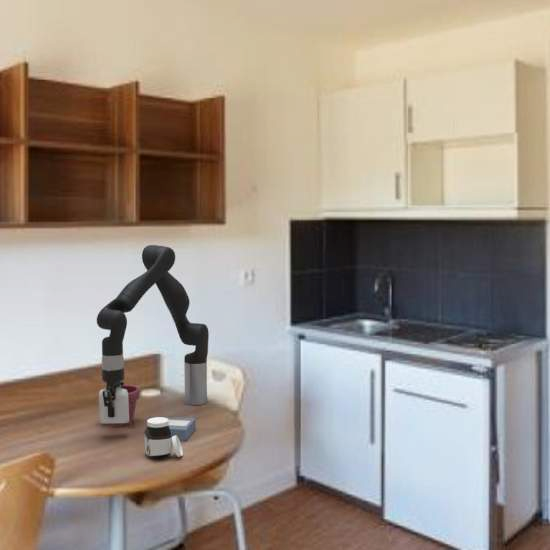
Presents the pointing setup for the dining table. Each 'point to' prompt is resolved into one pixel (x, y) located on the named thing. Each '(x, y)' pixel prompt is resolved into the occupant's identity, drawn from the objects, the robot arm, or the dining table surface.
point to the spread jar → (160, 439)
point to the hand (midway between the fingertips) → (114, 414)
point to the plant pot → (132, 398)
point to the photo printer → (120, 407)
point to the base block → (182, 427)
